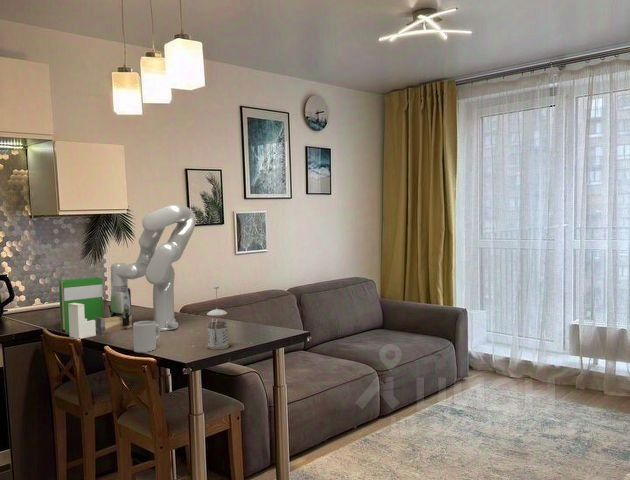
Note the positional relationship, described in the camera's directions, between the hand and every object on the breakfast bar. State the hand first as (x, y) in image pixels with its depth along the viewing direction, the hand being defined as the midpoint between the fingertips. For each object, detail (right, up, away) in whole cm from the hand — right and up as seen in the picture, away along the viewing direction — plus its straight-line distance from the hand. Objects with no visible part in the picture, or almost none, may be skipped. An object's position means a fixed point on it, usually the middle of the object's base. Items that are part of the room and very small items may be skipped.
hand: (120, 324), depth 260 cm
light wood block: (-2, -2, -3) cm, 4 cm away
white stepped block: (-12, -3, -16) cm, 20 cm away
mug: (+26, -3, -42) cm, 50 cm away
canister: (-6, -1, +20) cm, 20 cm away
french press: (+54, -3, -42) cm, 68 cm away
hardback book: (-19, -2, +1) cm, 19 cm away
